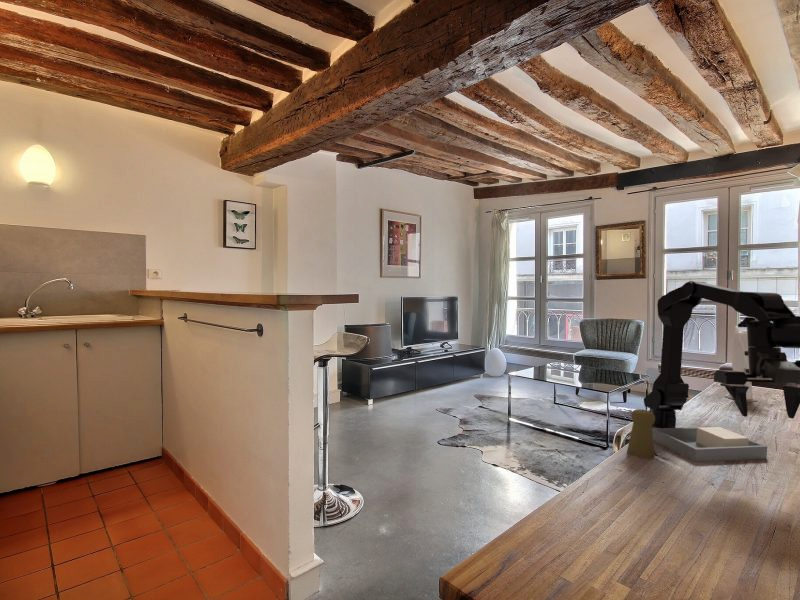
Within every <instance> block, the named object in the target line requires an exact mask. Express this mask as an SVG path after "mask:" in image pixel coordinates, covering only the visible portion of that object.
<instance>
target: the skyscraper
mask: <svg viewBox="0 0 800 600" xmlns="http://www.w3.org/2000/svg"><path fill="white" fill-rule="evenodd" d="M734 331H735V332H734V335H733V341H732V345H731V346H732V347H731V358H730V359H731V366H732V370H733V371H740V372H745V374H748V373H746V370H745V369H749V359H748V356H746V355H745V351H748V339H747V329H745V330H744V329H740V330H739V327H738V324H737V325H735V327H734ZM744 386H747V387H749V388H748V390H747V392H746V398H747V403H756V402H758V400H756V399H753V398H754V397H753V395H754V394H753V386H752V382H746V383H745V384H744ZM724 398H726V399H730V400H733V401H734V399H733V398H732V396H731V395H730V393H729V392H728V395H725V396H724Z"/></svg>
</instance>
